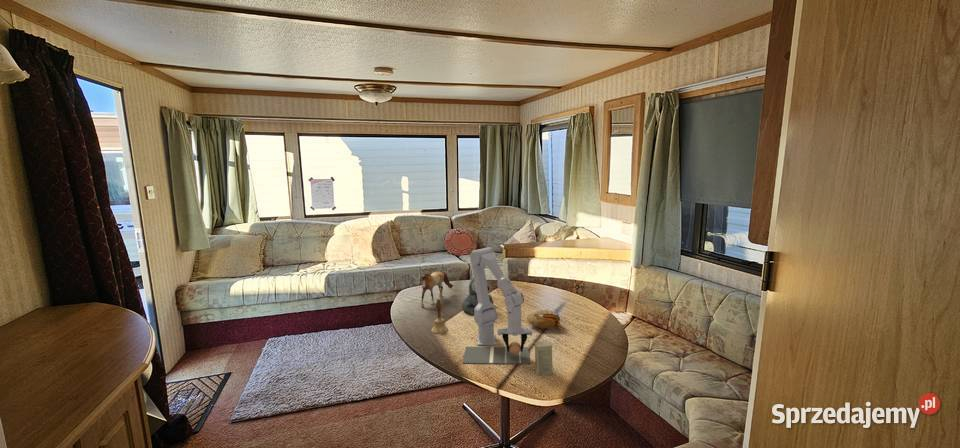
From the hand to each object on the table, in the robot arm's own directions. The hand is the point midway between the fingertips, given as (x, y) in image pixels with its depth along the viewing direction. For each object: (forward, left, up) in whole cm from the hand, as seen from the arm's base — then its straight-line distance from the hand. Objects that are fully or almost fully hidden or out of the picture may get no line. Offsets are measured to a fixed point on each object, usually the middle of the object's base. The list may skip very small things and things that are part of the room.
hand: (515, 350), depth 166 cm
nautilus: (-28, +17, -3) cm, 33 cm away
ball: (0, 0, +1) cm, 1 cm away
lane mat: (-1, -8, -3) cm, 9 cm away
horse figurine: (-65, -44, -3) cm, 79 cm away
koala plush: (-52, -20, -3) cm, 56 cm away
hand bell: (-26, -37, -3) cm, 45 cm away
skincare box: (+12, +11, -3) cm, 17 cm away
